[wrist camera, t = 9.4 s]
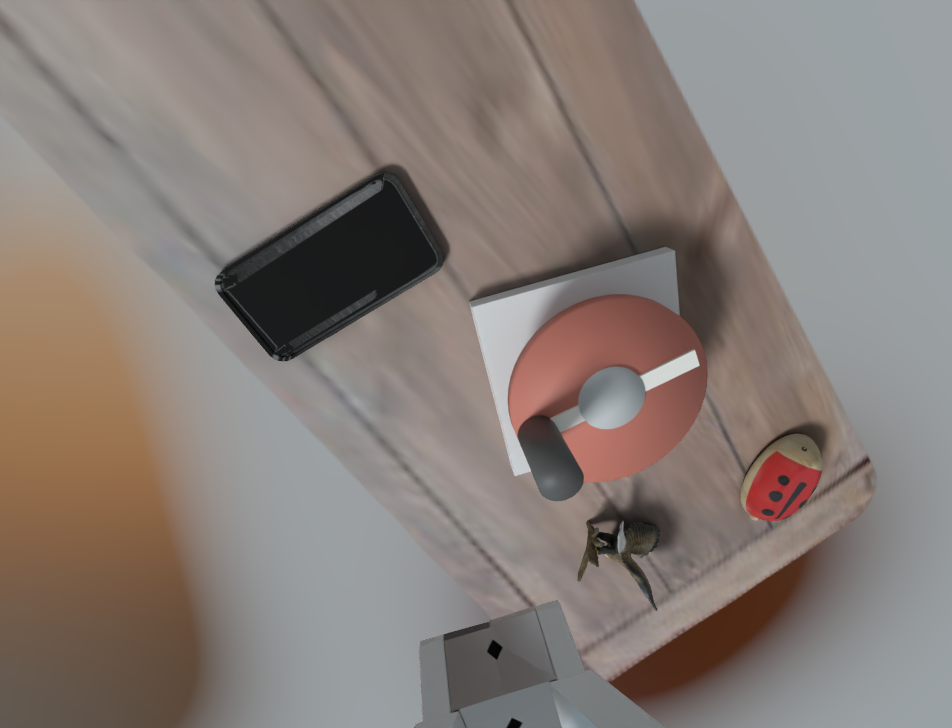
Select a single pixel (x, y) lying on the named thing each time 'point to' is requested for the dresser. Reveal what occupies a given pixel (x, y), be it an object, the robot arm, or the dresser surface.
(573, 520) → the dresser surface
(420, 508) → the dresser surface
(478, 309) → the square base plate
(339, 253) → the phone
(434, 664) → the robot arm
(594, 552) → the eagle figurine
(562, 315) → the handwheel
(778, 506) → the ladybug figurine
